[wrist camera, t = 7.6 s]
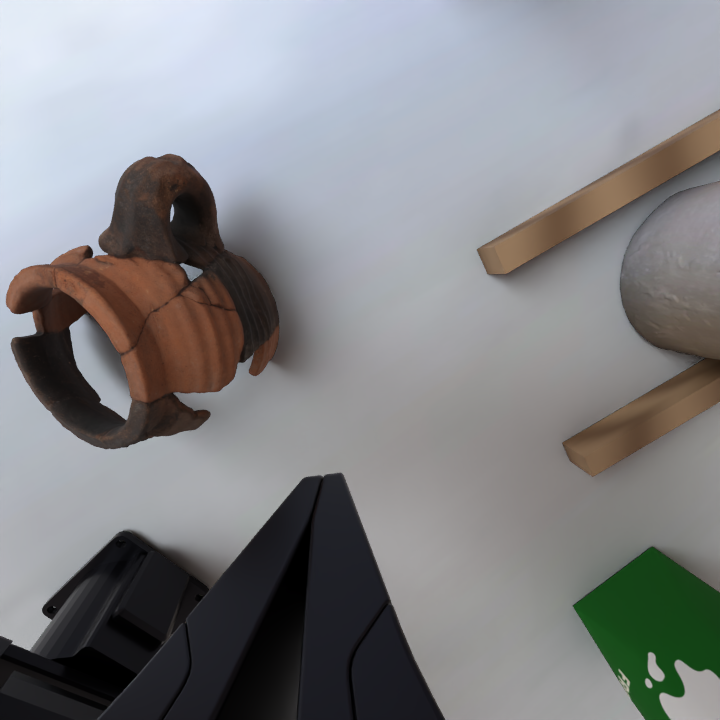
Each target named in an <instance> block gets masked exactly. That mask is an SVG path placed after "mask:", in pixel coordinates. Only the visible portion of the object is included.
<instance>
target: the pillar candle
mask: <svg viewBox="0 0 720 720" xmlns="http://www.w3.org/2000/svg"><path fill="white" fill-rule="evenodd" d="M620 290H621V296H622V302H623V306H624V308H625V312H626V314H627V317H628V319H629V321H630V323H631V324H632V325H633V326H634V328H635V329H636V331H637V332H638V333H639V334H641V335H642V336H643V337H644V338H645V339H646V340H647V341H649V342H650V343H651V344H653V345H655V346H657V347H659V348H663V349H668V350H674V351H678V352H682V353H687V354H692V355H697V356H701V357H705V358H711V359H717V360H720V181H718V182H714V183H710V184H706V185H702V186H698V187H694V188H691V189H687V190H684V191H681V192H678V193H676V194H674V195H673V196H671V197H670V198H668V199H667V200H666V201H664V202H663V203H662V204H661V205H660V206H659V207H658V208H657V209H656V210H654V211H653V212H652V214H651V215H650V216H649V217H648V218H647V219H646V221H645V222H644V223H643V224H642V225H641V226H640V228H639V229H638V230H637V232H636V233H635V235H634V236H633V238H632V239H631V241H630V244H629V246H628V248H627V251H626V254H625V255H624V261H623V265H622V272H621V279H620Z"/></svg>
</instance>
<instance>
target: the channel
mask: <svg viewBox="0 0 720 720" xmlns="http://www.w3.org/2000/svg"><path fill="white" fill-rule="evenodd" d="M719 150H720V109H719V110H718V111H716V112H714V113H712V114H711V115H709V116H707V117H705V118H704V119H702V120H700V121H698V122H697V123H695V124H693V125H692V126H690V127H688V128H686V129H685V130H683V131H681V132H679V133H678V134H676V135H674V136H672V137H671V138H669V139H667V140H666V141H664V142H662V143H660V144H659V145H657V146H655V147H653V148H652V149H650V150H648V151H646V152H645V153H643V154H641V155H640V156H638V157H636V158H634V159H633V160H631V161H629V162H627V163H626V164H624V165H622V166H620V167H619V168H617V169H615V170H614V171H612V172H610V173H608V174H607V175H605V176H603V177H601V178H600V179H598V180H596V181H594V182H593V183H591V184H589V185H587V186H586V187H584V188H582V189H581V190H579V191H577V192H575V193H574V194H572V195H570V196H568V197H567V198H565V199H563V200H561V201H560V202H558V203H556V204H555V205H553V206H551V207H549V208H548V209H546V210H544V211H542V212H541V213H539V214H537V215H535V216H534V217H532V218H530V219H529V220H527V221H525V222H523V223H522V224H520V225H518V226H516V227H515V228H513V229H511V230H509V231H508V232H506V233H504V234H503V235H501V236H499V237H497V238H496V239H494V240H492V241H490V242H489V243H487V244H485V245H483V246H482V247H480V248H478V249H477V251H478V254H479V256H480V258H481V260H482V263H483V265H484V267H485V269H486V272H487V274H507V273H508V272H510V271H512V270H514V269H515V268H517V267H519V266H520V265H522V264H524V263H526V262H527V261H529V260H531V259H533V258H534V257H536V256H538V255H539V254H541V253H543V252H545V251H546V250H548V249H550V248H552V247H553V246H555V245H557V244H558V243H560V242H562V241H564V240H565V239H567V238H569V237H571V236H572V235H574V234H576V233H577V232H579V231H581V230H583V229H584V228H586V227H588V226H590V225H591V224H593V223H595V222H596V221H598V220H600V219H602V218H603V217H605V216H607V215H609V214H610V213H612V212H614V211H615V210H617V209H619V208H621V207H622V206H624V205H626V204H628V203H629V202H631V201H633V200H634V199H636V198H638V197H640V196H641V195H643V194H645V193H647V192H648V191H650V190H652V189H653V188H655V187H657V186H659V185H660V184H662V183H664V182H666V181H667V180H669V179H671V178H672V177H674V176H676V175H678V174H679V173H681V172H683V171H685V170H686V169H688V168H690V167H691V166H693V165H695V164H697V163H698V162H700V161H702V160H704V159H705V158H707V157H709V156H710V155H712V154H714V153H716V152H717V151H719ZM718 402H720V360H717V359H711V358H706V359H704V360H702V361H701V362H699V363H697V364H696V365H694V366H692V367H690V368H689V369H687V370H685V371H684V372H682V373H680V374H679V375H677V376H675V377H673V378H672V379H670V380H668V381H667V382H665V383H663V384H662V385H660V386H658V387H656V388H655V389H653V390H651V391H650V392H648V393H646V394H645V395H643V396H641V397H639V398H638V399H636V400H634V401H633V402H631V403H629V404H628V405H626V406H624V407H623V408H621V409H619V410H617V411H616V412H614V413H612V414H611V415H609V416H607V417H606V418H604V419H602V420H600V421H599V422H597V423H595V424H594V425H592V426H590V427H589V428H587V429H585V430H583V431H582V432H580V433H578V434H577V435H575V436H573V437H572V438H570V439H568V440H566V441H565V442H563V443H562V444H563V446H564V448H565V450H566V453H567V455H568V457H569V459H570V461H571V462H572V463H574V464H575V465H576V466H578V467H579V468H581V469H582V470H584V471H585V472H586V473H588V474H589V475H591V476H592V477H593V476H595V475H597V474H598V473H600V472H602V471H603V470H605V469H607V468H608V467H610V466H612V465H614V464H615V463H617V462H619V461H620V460H622V459H624V458H625V457H627V456H629V455H630V454H632V453H634V452H636V451H637V450H639V449H641V448H642V447H644V446H646V445H647V444H649V443H651V442H652V441H654V440H656V439H658V438H659V437H661V436H663V435H664V434H666V433H668V432H669V431H671V430H673V429H674V428H676V427H678V426H680V425H681V424H683V423H685V422H686V421H688V420H690V419H691V418H693V417H695V416H696V415H698V414H700V413H701V412H703V411H705V410H707V409H708V408H710V407H712V406H713V405H715V404H717V403H718Z"/></svg>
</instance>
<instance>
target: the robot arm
mask: <svg viewBox="0 0 720 720" xmlns="http://www.w3.org/2000/svg"><path fill="white" fill-rule="evenodd" d="M119 540H123V541H125V542H126V543H121V542H120V541H119ZM197 594H201V595H203V596H198V595H197ZM53 606H54V607H56V608H54V607H53ZM42 612H43V614H44V615H45V616H47V617H48V618H50V619H52V621H51V622H50V624H49V625H48V626H47V628H46V629H45V631H44V632H43V633H42V635H41V636H40V638H39V639H38V640H37V642H36V643H35V644H34V646H33V647H32V649H31V650H30V651H28V650H26V649H23V648H21V647H18V646H16V645H13V644H11V643H12V642H13V641H12V640H9V639H7V638H4V637H2V636H0V720H445V718H444V716H443V714H442V712H441V710H440V709H439V707H438V705H437V703H436V701H435V699H434V697H433V695H432V693H431V691H430V689H429V687H428V685H427V683H426V681H425V679H424V677H423V675H422V673H421V671H420V669H419V667H418V665H417V663H416V661H415V659H414V657H413V654H412V652H411V650H410V647H409V645H408V642H407V640H406V638H405V635H404V633H403V630H402V628H401V626H400V623H399V620H398V618H397V615H396V612H395V610H394V607H393V605H392V604H391V600H390V597H389V594H388V592H387V589H386V586H385V584H384V581H383V578H382V576H381V573H380V570H379V568H378V565H377V562H376V560H375V557H374V555H373V552H372V549H371V547H370V544H369V541H368V539H367V536H366V533H365V531H364V528H363V525H362V523H361V520H360V517H359V515H358V512H357V509H356V507H355V504H354V501H353V499H352V496H351V493H350V491H349V488H348V485H347V483H346V480H345V478H344V475H343V474H342V473H334V474H327V475H325V476H324V477H323V476H321V475H318V476H310V477H305V478H303V479H302V480H301V481H300V483H299V484H298V485H297V486H296V487H295V489H294V490H293V491H292V492H291V493H290V495H289V496H288V497H287V498H286V499H285V501H284V502H283V503H282V504H281V505H280V507H279V508H278V509H277V510H276V511H275V513H274V514H273V515H272V516H271V517H270V519H269V520H268V521H267V522H266V523H265V524H264V526H263V527H262V528H261V529H260V530H259V532H258V533H257V534H256V535H255V536H254V538H253V539H252V540H251V541H250V542H249V544H248V545H247V546H246V547H245V548H244V550H243V551H242V552H241V553H240V554H239V556H238V557H237V558H236V559H235V560H234V562H233V563H232V564H231V565H230V566H229V568H228V569H227V570H226V571H225V572H224V574H223V575H222V576H221V577H220V578H219V580H218V581H217V582H216V583H215V584H214V586H213V587H212V588H211V589H210V590H209V589H208V587H206V586H205V585H204V584H202V583H201V582H199V581H198V580H196V579H195V578H194V577H192V576H191V575H189V574H188V573H186V572H185V571H184V570H182V569H181V568H179V567H178V566H176V565H175V564H174V563H172V562H171V561H169V560H168V559H166V558H165V557H164V556H162V555H161V554H159V553H158V552H156V551H155V550H154V549H152V548H151V547H149V546H148V545H147V544H145V543H144V542H142V541H141V540H139V539H138V538H137V537H135V536H134V535H132V534H131V533H129V532H125V531H123V532H119V533H118V534H116V535H115V536H114V537H113V538H112V539H111V540H110V541H109V542H108V543H107V544H106V545H105V546H104V547H103V548H102V549H101V550H100V551H99V552H98V553H97V554H95V555H94V556H93V557H92V558H91V559H90V560H89V561H88V562H87V563H86V564H85V565H84V566H83V567H82V568H81V569H80V570H79V571H78V572H77V573H76V574H75V575H74V576H73V577H72V578H71V579H70V580H68V581H67V582H66V583H65V584H64V585H63V586H62V587H61V588H60V589H59V590H58V591H57V592H56V593H55V594H54V595H53V596H52V597H51V598H50V599H49V600H48V601H47V602H46V604H45V605H44V606H43V608H42ZM184 622H186V623H184ZM172 634H173V635H172ZM171 635H172V636H171ZM170 636H171V637H170Z"/></svg>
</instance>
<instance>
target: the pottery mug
mask: <svg viewBox="0 0 720 720" xmlns="http://www.w3.org/2000/svg"><path fill="white" fill-rule="evenodd" d="M172 204H173V207H174V216H173V220H172V221H171V222H170V211H171V207H172ZM99 246H100V247H101V249H102V250H103V251H104V252H106V253H108V255H99V256H95V257H94V258H92V256H93V250H92V249H91V247H90V246H88V245H87V246H80V247H78V248H75V249H72V250H70V251H68V252H67V253H65V254H62V255H61V256H59V257H58V258H56V259H55V260H54V261H53V262H52V263H51V264H50V265H49V264H45V265H35V266H30V267H27V268H25V269H23V270H21V271H20V272H19V273H18V275H16V276H15V277H14V279H13V280H12V282H11V283H10V286H9V289H8V292H7V296H6V305H7V307H8V308H9V309H10V310H11V312H12V313H14V314H23V313H27V312H33V318H34V322H35V327H36V330H37V332H36V334H34V335H30V336H24V337H15V338H13V339H12V342H11V349H12V352H13V354H14V356H15V360H16V361H17V364H18V366H19V368H20V370H21V372H22V374H23V376H24V378H25V380H26V382H27V383H28V384H29V386H30V387H31V389H32V391H33V392H34V394H35V395H36V397H37V398H38V399H39V401H40V402H41V403H42V404H43V405H44V406H45V407H46V409H47V410H49V411H51V413H52V415H53V416H54V417H55V418H56V419H57V420H58V421H59V422H60V423H61V424H62V426H63V427H65V428H66V429H68V430H70V431H71V432H72V433H73V434H74V435H76V436H77V437H78V438H80V439H82V440H84V441H86V442H88V443H89V444H91V445H93V446H96V447H100V448H104V449H109V448H110V449H116V448H121V447H128V446H129V445H131V444H136V443H138V442H140V441H144V440H147V439H148V438H152V437H154V436H156V437H159V436H171V435H174V434H177V433H179V432H183V431H189V430H195V429H197V428H198V427H200V426H201V425H202V424H203V423H204V422H205V421H206V420H208V418H209V417H210V415H211V414H210V412H209V411H207V410H197V411H193V409H192V408H190V407H187V406H186V405H185V404H183V403H182V402H180V400H179V399H178V397H176V396H175V395H174V392H180V393H192V392H196V393H206V392H218V391H220V390H222V388H223V387H225V386H226V385H228V384H229V383H230V382H231V381H232V380H233V379H234V377H235V373H236V369H237V364H238V363H239V362H240V363H243V362H245V361H246V360H247V359H248V358H250V357H251V356H252V355H253V353H254V356H253V360H252V363H251V366H250V369H249V373H250V374H251V375H253V376H257V375H259V374H260V373H261V372H262V371H263V369H264V368H265V367H266V365H267V363H268V361H270V360H271V359H272V357H273V356H274V353H275V351H276V348H277V344H278V339H279V316H278V311H277V307H276V302H275V300H274V297H273V295H272V293H271V291H270V288H269V286H268V284H267V283H266V281H265V279H264V278H263V277H262V275H261V274H260V273H259V272H258V271H256V269H255V268H254V267H253V266H252V265H251V264H250V263H249V262H247V261H246V260H245V259H244V258H242V257H239V256H236V255H234V254H233V253H231V252H228V251H227V250H224V244H223V242H222V240H221V238H220V235H219V230H218V224H217V210H216V204H215V199H214V196H213V193H212V191H211V188H210V187H209V185H208V183H207V182H206V180H205V179H204V178H203V177H202V176H201V175H200V174H199V172H198V171H197V170H196V169H195V168H194V167H193V166H192V165H191V164H190V163H187V162H186V161H185V160H184V159H183V158H182V157H180V156H177V155H174V154H166V155H163V156H161V157H158V158H154V157H145V158H143V159H141V160H139V161H136V162H135V163H133V164H132V165H131V166H129V167H128V168H127V170H126V171H125V172H124V173H123V175H122V176H121V178H120V180H119V183H118V186H117V190H116V193H115V205H114V211H113V216H112V221H111V224H110V226H109V228H107V229H106V230H105V231H104V232H103V233H102V234H101V235H100V236H99ZM181 263H184V264H187V265H189V266H193V267H196V268H199V269H202V270H203V273H202V274H201V275H200V276H199V277H197V278H196V279H194V280H193V281H190V280H189V279H188V276H187V274H186V272H185V270H184V269H183V268H182V267H181V266H180V265H179V264H181ZM53 288H54V289H53ZM87 312H89V313H90V314H91V315H92V316H93V317H94V318H95V320H96V321H97V322H98V323H99V324H100V326H101V327H102V329H103V330H104V331H105V332H106V333H107V335H108V337H109V338H110V340H111V342H112V344H113V345H114V347H115V349H116V350H117V351H118V353H119V354H120V355H121V362H122V364H123V366H124V369H125V372H126V376H127V380H128V384H129V388H130V396H131V398H132V403H131V407H130V412H129V416H128V419H127V421H126V420H125V419H124V418H122V417H121V416H120V415H118V414H117V413H116V412H115V411H113V410H111V409H110V408H108V407H106V406H104V405H102V404H101V403H99V402H100V401H101V399H100V397H99V395H98V394H97V393H96V391H95V390H94V389H93V388H92V387H91V386H90V385H89V383H88V382H87V381H86V380H85V379H84V377H83V376H82V374H81V372H80V371H79V370H78V368H77V366H76V361H75V359H74V354H73V348H72V341H71V336H70V330H69V326H70V325H71V324H72V323H74V322H75V321H77V320H78V319H79V318H80V317H82V316H83V315H84V314H85V313H87Z"/></svg>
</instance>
